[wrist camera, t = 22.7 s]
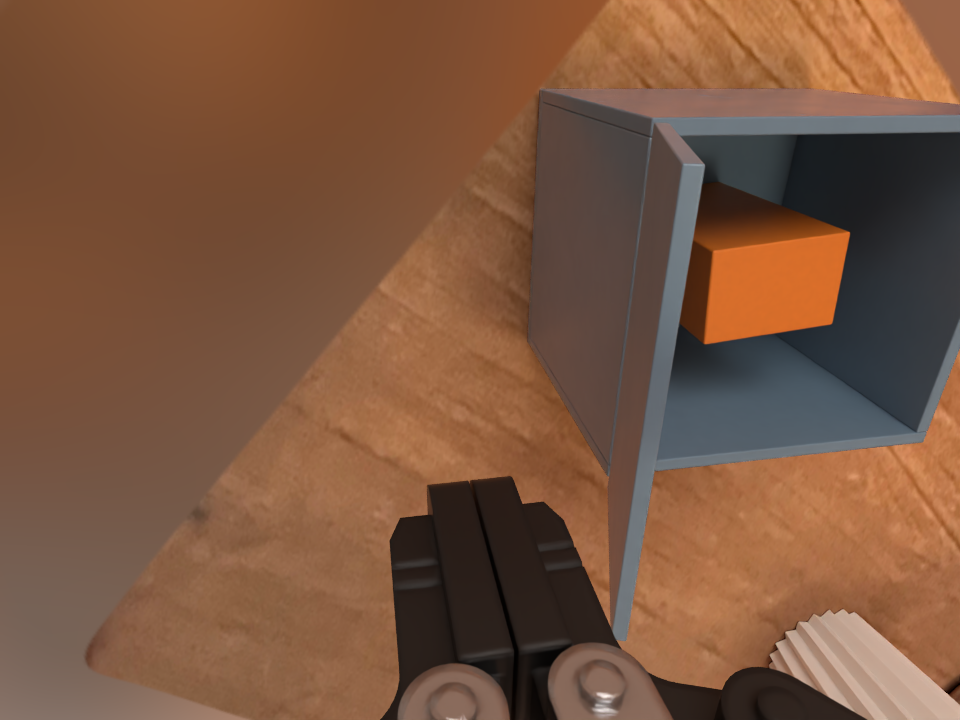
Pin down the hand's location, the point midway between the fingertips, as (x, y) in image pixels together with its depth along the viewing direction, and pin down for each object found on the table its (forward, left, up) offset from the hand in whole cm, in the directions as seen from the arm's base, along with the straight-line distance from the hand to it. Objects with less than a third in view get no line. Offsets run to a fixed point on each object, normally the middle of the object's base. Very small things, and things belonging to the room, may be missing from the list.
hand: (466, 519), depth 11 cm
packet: (+13, 0, -19) cm, 23 cm away
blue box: (+13, 0, -20) cm, 24 cm away
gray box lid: (+6, 0, -5) cm, 7 cm away
